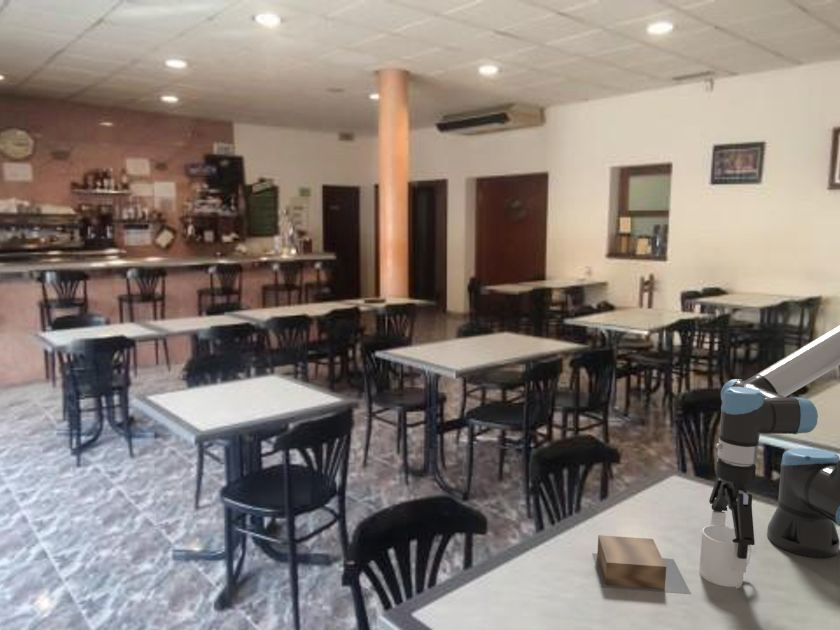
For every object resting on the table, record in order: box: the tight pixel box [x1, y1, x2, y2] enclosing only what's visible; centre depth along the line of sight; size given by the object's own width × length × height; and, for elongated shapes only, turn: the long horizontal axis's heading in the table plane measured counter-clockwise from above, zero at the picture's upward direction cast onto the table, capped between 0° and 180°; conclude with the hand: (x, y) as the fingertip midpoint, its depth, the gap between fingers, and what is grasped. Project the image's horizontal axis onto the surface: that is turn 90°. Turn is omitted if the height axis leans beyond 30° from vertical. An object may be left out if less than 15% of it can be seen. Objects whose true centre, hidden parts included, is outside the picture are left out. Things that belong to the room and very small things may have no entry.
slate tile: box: [591, 552, 692, 595], centre depth 140 cm, size 18×14×1 cm
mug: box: [698, 524, 752, 590], centre depth 139 cm, size 9×12×11 cm
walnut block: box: [596, 534, 666, 589], centre depth 140 cm, size 12×12×5 cm
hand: (726, 554), depth 139 cm, fingers open, 13 cm apart
